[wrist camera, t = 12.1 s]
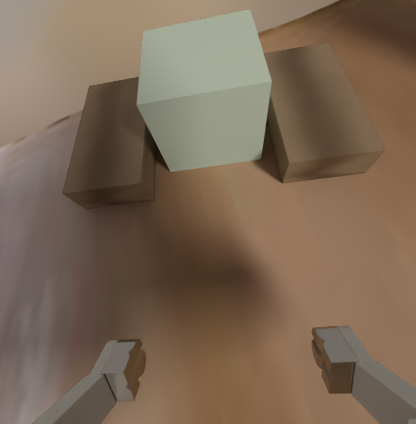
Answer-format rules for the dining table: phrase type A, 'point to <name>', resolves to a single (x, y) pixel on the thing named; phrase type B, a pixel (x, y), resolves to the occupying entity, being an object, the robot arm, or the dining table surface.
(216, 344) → the dining table surface
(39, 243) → the dining table surface
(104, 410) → the robot arm
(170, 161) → the sage block
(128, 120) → the dock block
